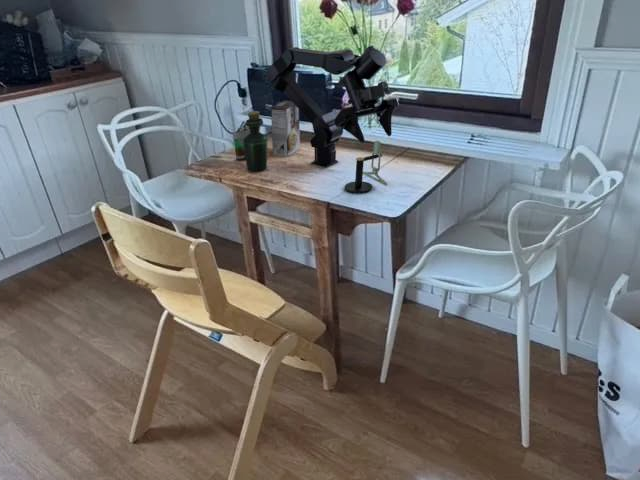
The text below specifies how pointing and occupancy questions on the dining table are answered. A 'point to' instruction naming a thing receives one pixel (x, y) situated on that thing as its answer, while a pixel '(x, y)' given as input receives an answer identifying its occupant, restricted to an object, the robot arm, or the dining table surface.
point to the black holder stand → (360, 177)
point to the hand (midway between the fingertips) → (376, 138)
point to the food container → (240, 142)
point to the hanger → (375, 170)
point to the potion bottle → (255, 144)
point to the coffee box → (285, 128)
